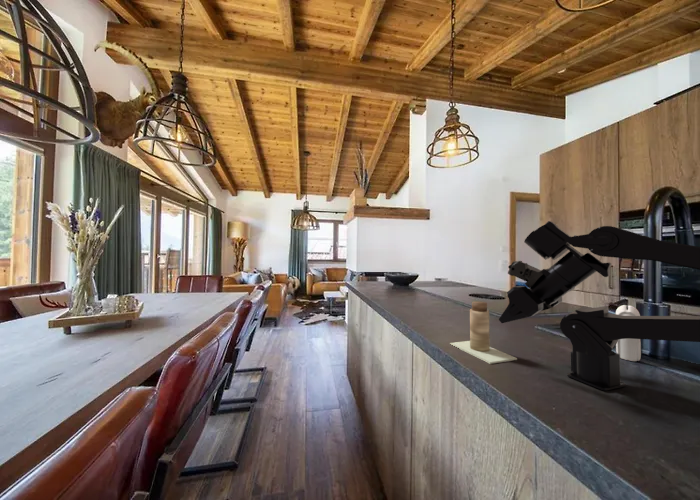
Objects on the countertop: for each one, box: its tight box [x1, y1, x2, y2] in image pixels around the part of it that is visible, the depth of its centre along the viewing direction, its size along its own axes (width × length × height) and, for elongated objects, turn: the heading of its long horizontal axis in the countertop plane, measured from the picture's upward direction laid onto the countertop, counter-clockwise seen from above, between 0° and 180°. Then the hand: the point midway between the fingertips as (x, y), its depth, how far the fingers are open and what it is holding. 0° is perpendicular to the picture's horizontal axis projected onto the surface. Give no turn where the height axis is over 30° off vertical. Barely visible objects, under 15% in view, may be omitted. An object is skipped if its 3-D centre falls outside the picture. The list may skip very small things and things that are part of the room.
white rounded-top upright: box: [615, 304, 642, 362], centre depth 67 cm, size 10×4×12 cm, turn 134°
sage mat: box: [449, 340, 518, 365], centre depth 69 cm, size 14×8×1 cm, turn 17°
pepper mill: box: [469, 301, 491, 352], centre depth 70 cm, size 5×5×12 cm
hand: (508, 318), depth 65 cm, fingers open, 9 cm apart
